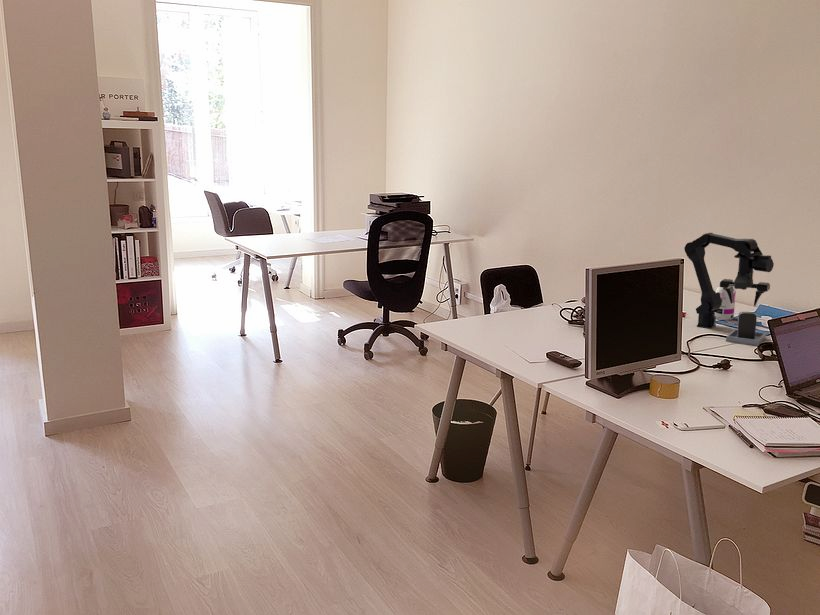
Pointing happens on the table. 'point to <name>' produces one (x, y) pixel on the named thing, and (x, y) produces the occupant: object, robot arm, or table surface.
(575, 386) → the table surface
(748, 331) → the battery
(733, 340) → the tray
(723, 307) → the supplement can
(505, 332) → the table surface
